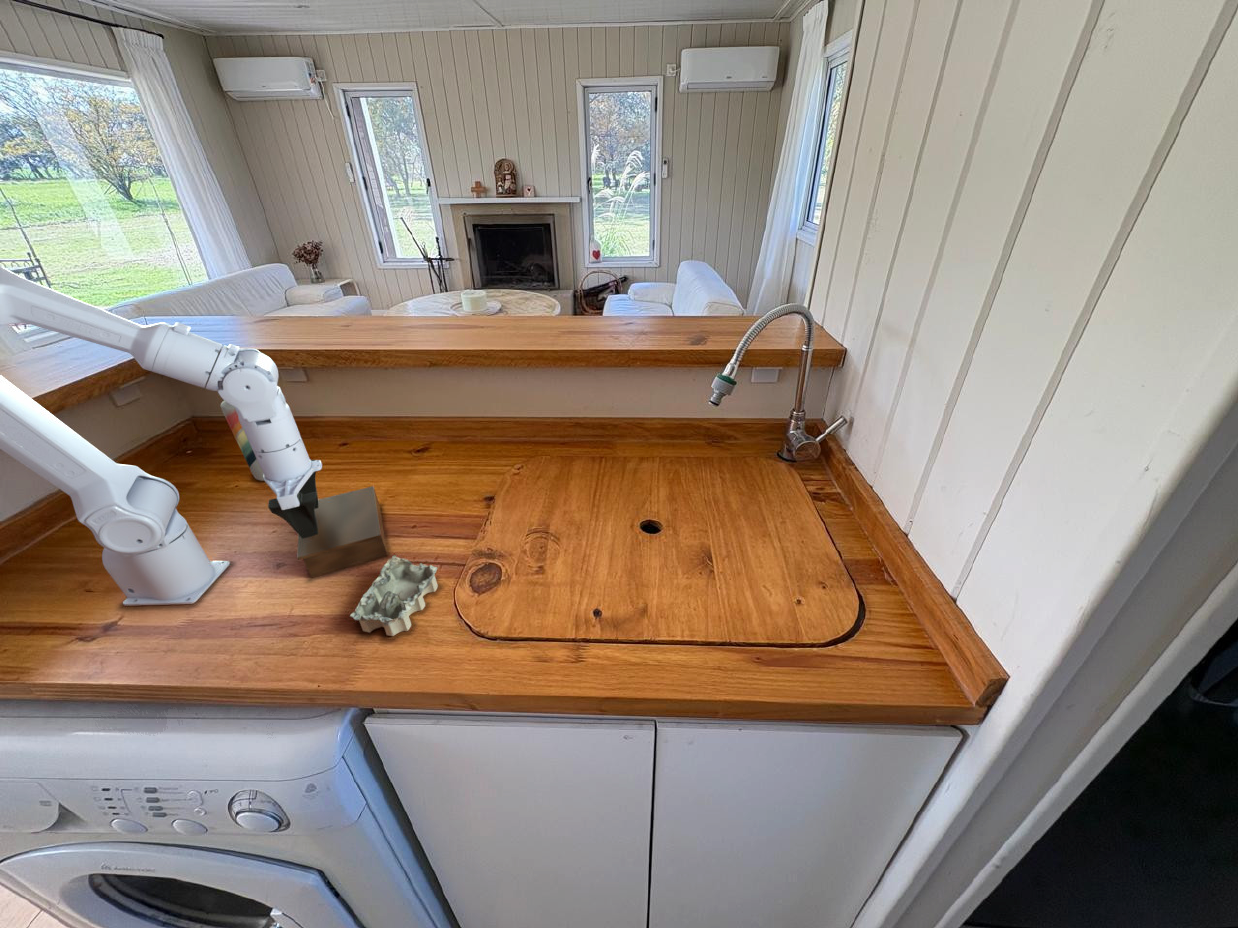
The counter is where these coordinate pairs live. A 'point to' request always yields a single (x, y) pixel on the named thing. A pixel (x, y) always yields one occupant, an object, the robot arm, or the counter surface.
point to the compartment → (348, 554)
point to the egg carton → (395, 596)
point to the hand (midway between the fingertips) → (310, 521)
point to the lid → (342, 523)
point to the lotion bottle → (242, 440)
